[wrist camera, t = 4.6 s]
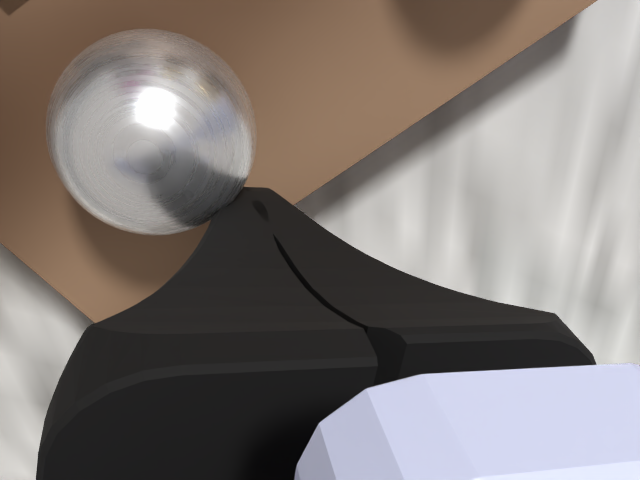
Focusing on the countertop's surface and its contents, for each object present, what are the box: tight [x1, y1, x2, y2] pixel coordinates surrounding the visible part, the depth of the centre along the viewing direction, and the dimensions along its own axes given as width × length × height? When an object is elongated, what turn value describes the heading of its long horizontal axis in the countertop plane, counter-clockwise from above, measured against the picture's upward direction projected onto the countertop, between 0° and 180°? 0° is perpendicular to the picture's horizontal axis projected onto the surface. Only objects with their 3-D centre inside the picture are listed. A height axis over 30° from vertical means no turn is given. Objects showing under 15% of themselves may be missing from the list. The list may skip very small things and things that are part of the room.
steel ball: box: [46, 29, 257, 235], centre depth 10 cm, size 3×3×3 cm
